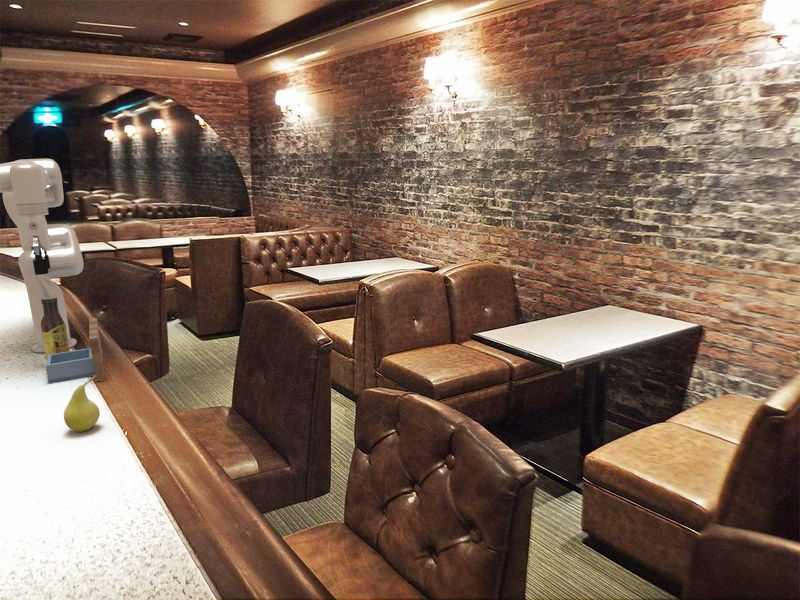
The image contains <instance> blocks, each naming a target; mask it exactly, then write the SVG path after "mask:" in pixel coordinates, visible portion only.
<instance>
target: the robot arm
mask: <svg viewBox="0 0 800 600" xmlns="http://www.w3.org/2000/svg"><path fill="white" fill-rule="evenodd" d="M61 171H62V170H61V168H60V165H59V164H58V163H57V162H56V161H55V160H54V159H51V158H29V159H17V160H14V161H10V162H4V163H0V193H2V201H3V205H4V207H5V210H6V212H7V214H8V216H9V218H10V219H11V220H12V222H13V223H14V225H15V226H16V227H17V232H18V236H19V241H20V245H21V248H22V249H21V250H22V251H23V252H22V253H21V254H20V255H19V256H18V265H19V267H18V268H19V269H20V272H21V274H22V278H23V280H24V284H25V288H26V291H27V296H28V297H27V298H28V301H29V307H30V311H31V312H30V314H31V317H32V322H33V323H32V324H33V329H34V335H35V340H36V343H35V344H34V345H32V347H31V349H32V350H31V351H32V352H34V353H40V354H43V353H44V354H45V351H44V344H43V338H42V329H41V320H42V318H43V316H44V313H43V312H44V311H43V304H42V303H41V299H42V298H46V297H57V300H58V302H57V305H58V310H59V313H60V315H61V317H62V319H63V321H64V323H65V325H66V332H67V339H68V345H69V349H70V348H73V347H75V346H76V345H77V344H78V341H77V339H76V338H73V337H71V332H70V326H69V319H68V315H67V314H68V313H67V309H66V303H65V297H64V292H63V290H62V289H61V287H60V286H59V285H58V284H56V283H55V282H54V281H52V279H56V278H64V277H71V276H77V275H79V274H81V273H82V272H83V270H84V264H85V263H84V259H83V254H82V250H81V247H80V243H79V239H78V237H77V234H76V231H75V230H74V228H73V227H72V226H70V225H67V224H54V225H53V224H52V225H48V223H47V219H46V216H47V215H49V208H56V207H61V206H62V205H63V203H64V201H65V200H64V198H65V197H64V189H63V187H64V186H63V177H62V172H61Z"/></svg>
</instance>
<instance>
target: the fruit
mask: <svg viewBox="0 0 800 600" xmlns="http://www.w3.org/2000/svg"><path fill="white" fill-rule="evenodd" d="M95 379H96V375H94V376H91V378H90V379H88V380H87V381H86V382H85V383H83V384H81V385H79V386H78V387H77V388H76V389H75V390H74V391H73V393H72V394H71V395H72V396H71V398H70V400H69V401H68V403H67V406H66V407H65V409H64V412H63V420H64V423H65V424H66V426H67V428H69V429H70V430H71V431H74V432H77V433H83V432H85V431H88V430H89V429H92V427H93V426H95V425H96V423H97V422H98V420H99V418H100V416H101V413H100V408H99V406H98V405H97V404H96V403H95V402H94V401H92V400H91V399H89V398H88V395H87V392H86V385H88V384H89V383H90V382H92V381H93V380H95Z"/></svg>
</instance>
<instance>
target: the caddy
mask: <svg viewBox="0 0 800 600" xmlns="http://www.w3.org/2000/svg"><path fill="white" fill-rule="evenodd" d="M45 370H46V376H47V381H48V384H54V382H55V383H60V382H65V381H66V382H67V381H71V380H77V379H82V378H84V379H85V378H89V377H93V375H95V370H94V364H93V358H92V352H91V347H89V348H82V349H75V350H69V351H68V352H62V353H55V354H49V355H48V356H47V361H46V360H45Z"/></svg>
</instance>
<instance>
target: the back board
mask: <svg viewBox="0 0 800 600" xmlns="http://www.w3.org/2000/svg"><path fill="white" fill-rule="evenodd" d="M88 324H89V325H88V326H89V327H88V332H89V333H88V335H89V337H88V338H89V344H90V348H91V352H92V358H93V364H94V370H95V375H96V377H95V381H96V383H98V382H97V381H101V380H105V379H104V378H105V368H104V367H105V366H103V365H104V357H103V350H102V344H101V338H100V337H101V335H100V331H99V324H98V319H97V317H94V318H89V319H88ZM105 381H106V380H105ZM101 382H102V381H101Z"/></svg>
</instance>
